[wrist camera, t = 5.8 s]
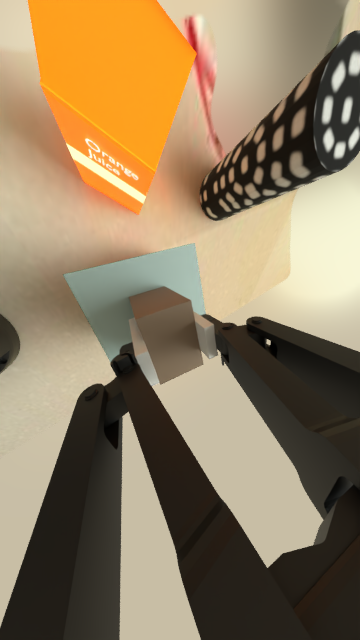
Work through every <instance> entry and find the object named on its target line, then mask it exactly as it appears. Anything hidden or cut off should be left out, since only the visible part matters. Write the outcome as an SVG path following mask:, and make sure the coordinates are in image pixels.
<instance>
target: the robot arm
mask: <svg viewBox="0 0 360 640" xmlns="http://www.w3.org/2000/svg"><path fill="white" fill-rule="evenodd" d="M193 312H194V311H193ZM194 318H195V325H196V330H197V335H198V340H199V345H200V350H201V351H202V352H203V353H204V354H205V355H206V356H207V357H208V358H209V359H211V358H213V357H215V356H217V355H218V352H217V349H218V350H219V351H220V352H221V359H222V365H224V362H225V364H226V365H227V366H228V368H229V369H230V371H231V372H232V374H233V375H234V377H235V378H236V380H237V381H238V383H239V384H240V386H241V387H242V389H243V390H244V392H245V393H246V395H247V396H248V397H249V399H250V401H251V402H252V404H253V405H254V407H255V408H256V410H257V411H258V413H259V414H260V416H261V417H262V418H263V420H264V422H265V423H266V424H267V426H268V427H269V429H270V430H271V432H272V433H273V435H274V436H275V438H276V439H277V441H278V442H279V444H280V445H281V447H282V448H283V450H284V451H285V453H286V454H287V456H288V457H289V459H290V460H291V461H292V463H293V465H294V466H295V468H296V470H297V472H298V475H299V478H300V481H301V483H302V485H303V487H304V489H305V491H306V493H307V495H308V496H309V498H310V500H311V501H312V503H313V504H314V506H315V507H316V509H317V510H318V512H319V513H320V515H321V517H322V518H323V520H324V521H323V522H322V524H321V525H320V527H319V530H318V533H317V536H316V539H315V542H314V545H313V546H309V547H305V548H302V549H298V550H294V551H291V552H287V553H283V554H282V555H281V556H280V557H279V558H278V559H277V560H276V561H275V562H274V563H273V564H272V565H270V566H269V567H268V568H267V567H266V565H265V564H264V563H263V561H262V559H261V558H260V556H259V554H258V553H257V551H256V550H255V548H254V546H253V545H252V543H251V542H250V540H249V538H248V537H247V535H246V534H245V532H244V530H243V529H242V527H241V526H240V524H239V523H238V521H237V519H236V518H235V516H234V515H233V513H232V512H231V511H230V509H229V508H228V506H227V505H226V503H225V502H224V501H223V500H222V499H221V498H220V496H219V495H218V494H217V492H216V491H215V489H214V487H213V486H212V484H211V482H210V481H209V479H208V478H207V476H206V474H205V473H204V471H203V469H202V468H201V466H200V464H199V463H198V461H197V460H196V458H195V456H194V455H193V453H192V451H191V450H190V448H189V447H188V445H187V443H186V442H185V440H184V438H183V437H182V435H181V434H180V432H179V431H178V429H177V427H176V426H175V424H174V422H173V421H172V419H171V417H170V416H169V414H168V412H167V411H166V409H165V408H164V406H163V405H162V403H161V401H160V399H159V398H158V396H157V394H156V393H155V391H154V390H153V388H152V386H153V385H156V384H158V383H160V382H159V380H158V377H157V374H156V371H155V368H154V366H153V363H152V360H151V358H150V355H149V353H148V350H147V347H146V345H145V342H144V341H143V338H142V336H141V333H140V331H139V328H138V325H137V323H136V320H135V317H134V318H131V319H129V325H130V331H131V336H132V342H131V343H128V344H125V345H123V346H122V347H121V348H120V350H119V355H117V356H116V357H114V358H113V359H112V361H111V367H112V369H113V370H114V372H115V374H116V376H117V377H116V378H115V379H114V380H113V381H111V382H110V383H108V384H107V385H105V386H103V385H102V384H94V385H92V386H90V387H88V388H87V389H86V390H84V391H83V392H82V393H81V395H80V396H79V398H78V400H77V403H76V406H75V409H74V412H73V415H72V418H71V421H70V423H69V426H68V429H67V433H66V435H65V438H64V441H63V444H62V447H61V450H60V453H59V456H58V459H57V462H56V465H55V468H54V471H53V474H52V477H51V480H50V483H49V486H48V488H47V491H46V495H45V497H44V500H43V503H42V506H41V509H40V512H39V515H38V518H37V521H36V524H35V527H34V530H33V533H32V536H31V539H30V542H29V544H28V547H27V550H26V554H25V557H24V560H23V562H22V565H21V568H20V571H19V574H18V577H17V580H16V583H15V586H14V589H13V592H12V595H11V598H10V601H9V604H8V606H7V609H6V612H5V616H4V618H3V622H2V624H1V627H0V640H119V631H120V630H119V627H120V625H119V623H120V557H121V488H122V487H121V484H122V416H123V415H125V414H126V413H127V412H128V411H129V414H130V417H131V420H132V423H133V426H134V429H135V431H136V434H137V437H138V440H139V443H140V446H141V449H142V452H143V455H144V458H145V461H146V463H147V467H148V469H149V472H150V475H151V478H152V481H153V484H154V487H155V490H156V493H157V496H158V499H159V501H160V505H161V508H162V510H163V513H164V516H165V519H166V522H167V525H168V528H169V531H170V534H171V537H172V540H173V543H174V546H175V550H176V553H177V559H178V566H179V570H180V574H181V578H182V581H183V585H184V588H185V591H186V595H187V598H188V601H189V604H190V607H191V610H192V613H193V616H194V619H195V622H196V626H197V628H198V631H199V634H200V637H201V640H360V352H358V351H355V350H352V349H350V348H347V347H344V346H341V345H338V344H336V343H333V342H330V341H327V340H325V339H321V338H319V337H316V336H313V335H311V334H308V333H305V332H302V331H299V330H296V329H294V328H291V327H288V326H285V325H282V324H279V323H277V322H274V321H271V320H268V319H265V318H263V317H251V318H249V319H247V321H246V325H242V326H237V325H235V324H233V323H222V322H220V321H219V320H217V319H215V318H213V317H212V316H210V315H207V314H203V315H199V314H197V313H196V312H194ZM267 339H269V340H270V341H271V345H268V344H266V340H267ZM19 349H20V341H19V337H18V334H17V332H16V330H15V329H14V327H13V326H12V325H11V323H10V322H9V321H8V320H7V319H6V318H4V317H3V316H2V315H1V314H0V374H1V373H2V372H3V371H4V370H5V369H6V368H7V367H8V366H10V365H11V364H12V363H13V361H14V360H15V359H16V357H17V355H18V353H19Z"/></svg>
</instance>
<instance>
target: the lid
mask: <svg viewBox="0 0 360 640" xmlns="http://www.w3.org/2000/svg"><path fill="white" fill-rule="evenodd" d="M63 276H64V278H65V280H66V281H67V283H68V285H69V287H70V289H71V291H72V292H73V294H74V296H75V298H76V300H77V302H78V303H79V305H80V307H81V309H82V311H83V313H84V314H85V316H86V318H87V320H88V322H89V324H90V325H91V327H92V329H93V331H94V333H95V335H96V336H97V338H98V340H99V342H100V344H101V346H102V348H103V349H104V351H105V353H106V355H107V357H108V359H109V360H110V362H111V361H112V359H113V358H114V357H116V356H117V355H119V350H120V348H121V347H122V346H123V345H125V344H128V343H131V342H132V336H131V331H130V325H129V319H131V318H134V317H135V320H136V323H137V325H138V328H139V331H140V333H141V336H142V338H143V341H144V342H145V345H146V347H147V350H148V353H149V355H150V358H151V360H152V363H153V366H154V368H155V371H156V374H157V377H158V380H159V382H160V384H163V383H165V382H167V381H169V380H171V379H174V378H176V377H178V376H180V375H182V374H184V373H186V372H188V371H190V370H192V369H195V368H197V367H199V366H201V365H203V360H202V354H201V350H200V345H199V340H198V335H197V330H196V325H195V318H194V312H196V313H197V314H199V315H203V314H206V312H205V306H204V299H203V293H202V286H201V280H200V273H199V267H198V260H197V254H196V247H195V243H193V244H188V245H184V246H180V247H176V248H172V249H167V250H163V251H159V252H155V253H151V254H147V255H142V256H138V257H134V258H130V259H126V260H122V261H117V262H113V263H109V264H105V265H101V266H97V267H92V268H88V269H84V270H80V271H76V272H72V273H67V274H63ZM193 311H194V312H193Z"/></svg>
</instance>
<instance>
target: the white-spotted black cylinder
mask: <svg viewBox="0 0 360 640" xmlns="http://www.w3.org/2000/svg"><path fill="white" fill-rule="evenodd" d="M359 151H360V31H353V32H351V33H350V34H348V35H346V36H345V37H344V38H343V39H342V40H341V41H340V42H339V43H338V44H337V45H336V46H335V47H334V48H333V49H332V50H331V51H330V52H329V53H328V54H327V55H326V56H325V57H324V58H323V59H322V60H321V61H320V62H319V63H318V64H317V66H315V67H314V68H313V69H312V70H311V71H310V72H309V74H307V75H306V77H304V79H302V81H300V82H299V83H298V84H297V86H295V88H294V89H293V90H291V92H290V93H288V94H287V95H286V97H285V98H283V100H281V102H280V103H279V104H277V106H276V107H275V108H274V109H273V110H272V111H271V112H270V113H269V114H268V115H267V116H266V117H265V118H264V119H263V120H262V121H261V122H260V123H259V124H258V125H257V126H256V127H255V128H254V129H253V130H252V131H251V132H250V133H249V134H248V135H247V136H246V137H245V138H244V139H243V140H242V141H241V142H240V143H239V144H238V145H237V146H236V147H235V148H234V149H233V150H232V151H231V152H230V153H229V154H228V155H227V156H226V157H225V158H224V159H223V160H222V161H221V162H220V163H219V164H218V165H217V166H216V167H215V168H214V169H213V170H212V171H211V172H210V173H209V174H208V175H207V176H206V177H205V178H204V180H203V182H202V184H201V188H200V203H201V206H202V209H203V211H204V213H205V214H206V215H207V216H208V217H209V218H210V219H212V220H215V221H220V220H223V219H225V218H228V217H230V216H232V215H235V214H237V213H240V212H242V211H244V210H247V209H249V208H252V207H254V206H257V205H259V204H261V203H264V202H266V201H269V200H271V199H273V198H276V197H278V196H281V195H283V194H285V193H288V192H290V191H293V190H295V189H297V188H299V187H302V186H305V185H307V184H309V183H312V182H314V181H316V180H319V179H321V178H324V177H326V176H328V175H331V174H333V173H336V172H338V171H340V170H342V169H344V168H345V167H347V166H348V165H349V164H350V163H351V162H352V161H353V160H354V158H355V157H356V156H357V154H358V153H359Z"/></svg>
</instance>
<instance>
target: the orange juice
mask: <svg viewBox="0 0 360 640" xmlns="http://www.w3.org/2000/svg"><path fill="white" fill-rule="evenodd" d="M28 5H29V11H30V17H31V23H32V29H33V35H34V41H35V47H36V53H37V59H38V65H39V71H40V77H41V79H40V85H41V87H42V89H43V92H44V94H45V96H46V98H47V101H48V103H49V105H50V107H51V110H52V112H53V114H54V116H55V118H56V121H57V123H58V125H59V127H60V130H61V132H62V134H63V136H64V139H65V141H66V144H67V147H68V149H69V151H70V153H71V155H72V158H73V159H74V161H75V163H76V165H77V168H78V170H79V172H80V174H81V177H82V179H83V181H84V182H85V183H87V184H88V185H90V186H92V187H93V188H95V189H97V190H98V191H100V192H102V193H103V194H105V195H107V196H108V197H110V198H112V199H113V200H115V201H117V202H118V203H120V204H122V205H123V206H125V207H127V208H128V209H130V210H132V211H133V212H135V213H137V214H138V215H139V212H140V210H141V207H142V205H143V203H144V201H145V198H146V195H147V192H148V189H149V187H150V184H151V182H152V179H153V177H154V174H155V172H156V169H157V165H158V162H159V159H160V156H161V153H162V150H163V147H164V145H165V142H166V139H167V136H168V133H169V130H170V127H171V125H172V122H173V119H174V116H175V113H176V110H177V107H178V105H179V102H180V99H181V96H182V93H183V90H184V87H185V85H186V82H187V79H188V76H189V73H190V70H191V67H192V65H193V62H194V59H195V56H196V52H195V51H194V50H193V48H192V47H191V46H190V44H189V43H188V42H187V40H186V39H185V38H184V36H183V35H182V34H181V32H180V31H179V30H178V28H177V27H176V26H175V24H174V23H173V22H172V20H171V19H170V18H169V16H168V15H167V14H166V12H165V11H164V10H163V8H162V7H161V6H160V4H159V3H158V2H157V0H28Z"/></svg>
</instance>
